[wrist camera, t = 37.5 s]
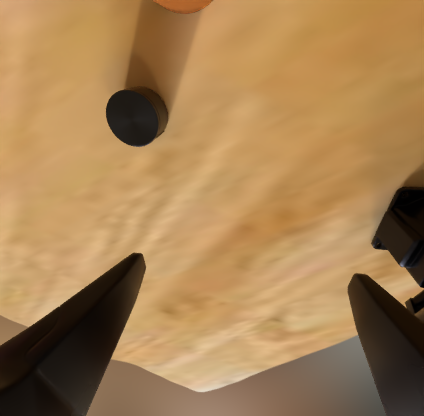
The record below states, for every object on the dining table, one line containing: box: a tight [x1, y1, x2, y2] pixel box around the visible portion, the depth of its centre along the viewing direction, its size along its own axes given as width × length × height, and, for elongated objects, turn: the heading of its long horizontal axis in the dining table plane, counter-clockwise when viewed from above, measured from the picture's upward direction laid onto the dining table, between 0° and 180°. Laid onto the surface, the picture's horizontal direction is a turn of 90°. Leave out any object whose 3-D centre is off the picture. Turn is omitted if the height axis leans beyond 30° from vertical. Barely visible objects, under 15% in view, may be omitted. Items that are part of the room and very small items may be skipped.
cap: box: [106, 87, 168, 147], centre depth 17 cm, size 4×4×2 cm
